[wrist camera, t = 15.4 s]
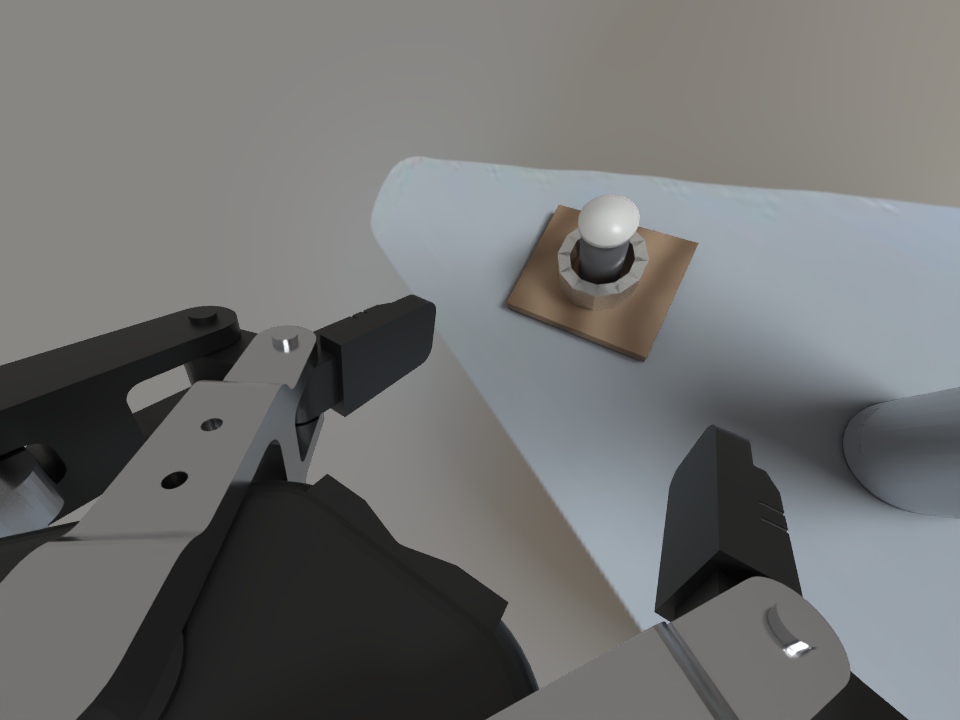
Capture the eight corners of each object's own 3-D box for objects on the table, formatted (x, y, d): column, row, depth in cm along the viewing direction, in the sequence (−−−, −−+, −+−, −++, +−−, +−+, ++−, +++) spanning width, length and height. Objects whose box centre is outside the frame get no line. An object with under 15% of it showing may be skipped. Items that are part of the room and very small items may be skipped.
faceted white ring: (653, 253, 39) (661, 233, 35) (621, 321, 37) (626, 307, 34) (578, 231, 42) (579, 211, 38) (546, 293, 40) (544, 278, 37)
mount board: (693, 251, 39) (698, 243, 38) (643, 361, 37) (646, 357, 36) (559, 212, 45) (558, 204, 43) (508, 307, 42) (506, 302, 41)
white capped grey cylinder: (630, 263, 39) (649, 203, 30) (611, 301, 38) (625, 251, 29) (586, 249, 41) (592, 188, 32) (567, 286, 40) (568, 234, 31)
